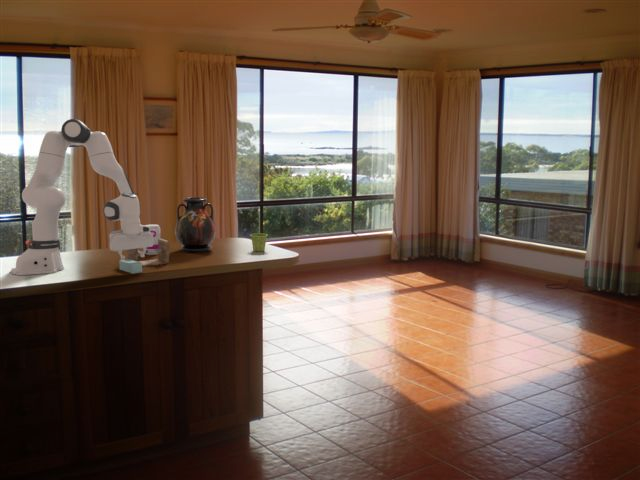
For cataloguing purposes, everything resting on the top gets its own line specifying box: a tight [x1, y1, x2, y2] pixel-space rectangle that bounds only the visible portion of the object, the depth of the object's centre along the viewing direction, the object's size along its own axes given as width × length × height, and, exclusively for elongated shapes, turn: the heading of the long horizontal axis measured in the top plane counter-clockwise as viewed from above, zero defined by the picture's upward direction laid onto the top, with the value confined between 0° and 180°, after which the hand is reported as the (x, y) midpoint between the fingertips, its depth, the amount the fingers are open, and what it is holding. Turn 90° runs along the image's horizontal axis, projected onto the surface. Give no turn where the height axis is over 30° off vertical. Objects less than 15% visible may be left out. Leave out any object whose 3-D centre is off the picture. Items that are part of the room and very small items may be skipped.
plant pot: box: [249, 233, 268, 252], centre depth 371 cm, size 9×9×9 cm
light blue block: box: [118, 258, 143, 274], centre depth 317 cm, size 5×12×4 cm, turn 44°
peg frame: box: [127, 238, 170, 267], centre depth 333 cm, size 17×9×11 cm, turn 126°
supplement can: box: [144, 223, 162, 256], centre depth 359 cm, size 8×8×15 cm
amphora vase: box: [174, 196, 217, 254], centre depth 369 cm, size 22×22×28 cm
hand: (132, 258), depth 319 cm, fingers open, 8 cm apart
